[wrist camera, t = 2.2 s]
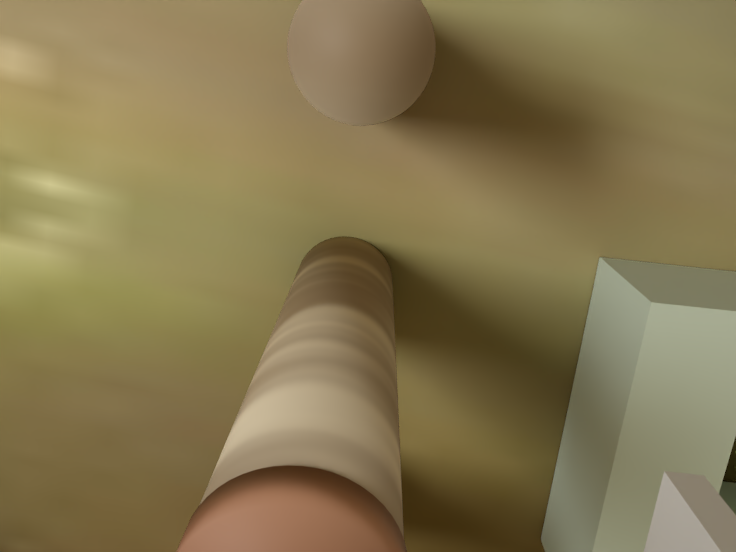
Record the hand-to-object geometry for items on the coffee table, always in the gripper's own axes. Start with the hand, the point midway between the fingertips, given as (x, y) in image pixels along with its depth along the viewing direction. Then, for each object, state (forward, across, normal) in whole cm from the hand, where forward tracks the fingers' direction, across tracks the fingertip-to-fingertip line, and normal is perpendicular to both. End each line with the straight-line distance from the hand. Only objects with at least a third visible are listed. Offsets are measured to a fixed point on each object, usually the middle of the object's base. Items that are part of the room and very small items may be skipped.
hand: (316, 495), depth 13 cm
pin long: (+13, 0, 0) cm, 13 cm away
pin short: (+12, 0, +8) cm, 15 cm away
